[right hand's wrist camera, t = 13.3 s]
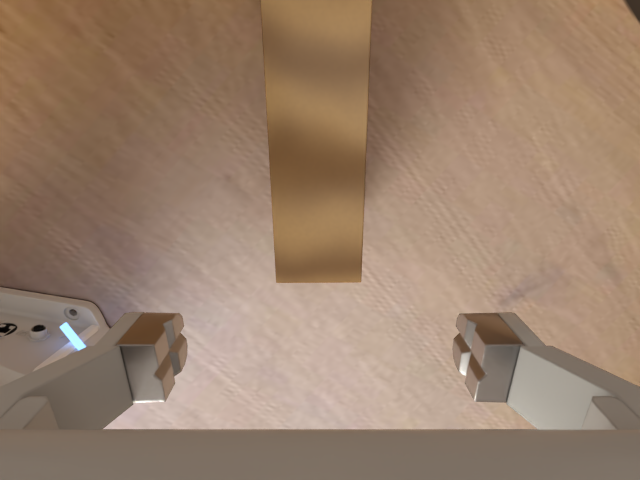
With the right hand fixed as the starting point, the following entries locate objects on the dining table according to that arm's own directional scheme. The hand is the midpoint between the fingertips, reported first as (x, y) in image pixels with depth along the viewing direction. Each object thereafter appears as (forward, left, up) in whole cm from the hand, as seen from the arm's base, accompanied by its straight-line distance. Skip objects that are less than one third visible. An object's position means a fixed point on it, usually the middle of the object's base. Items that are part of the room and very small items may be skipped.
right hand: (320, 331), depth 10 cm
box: (-3, +8, -26) cm, 27 cm away
